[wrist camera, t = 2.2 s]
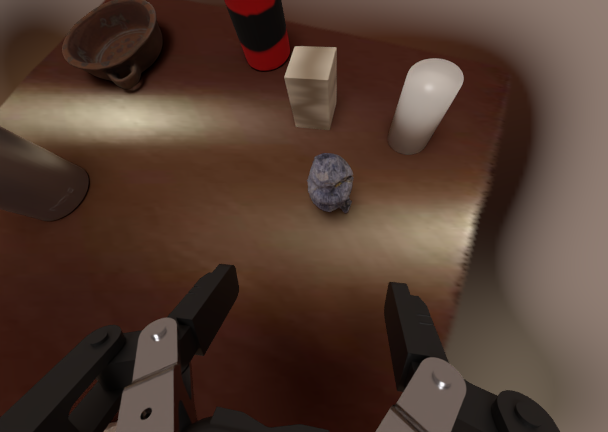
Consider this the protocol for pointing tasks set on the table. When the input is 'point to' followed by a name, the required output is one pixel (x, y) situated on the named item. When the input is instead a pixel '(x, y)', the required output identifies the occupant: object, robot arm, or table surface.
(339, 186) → the fossil stone
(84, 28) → the dish
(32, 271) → the table surface
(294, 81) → the birch block
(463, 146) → the table surface
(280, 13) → the soda can
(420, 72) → the ceramic cylinder
